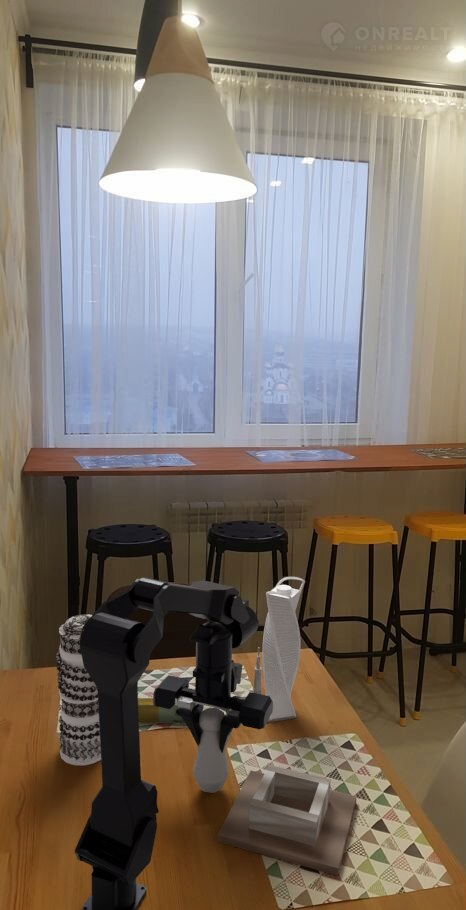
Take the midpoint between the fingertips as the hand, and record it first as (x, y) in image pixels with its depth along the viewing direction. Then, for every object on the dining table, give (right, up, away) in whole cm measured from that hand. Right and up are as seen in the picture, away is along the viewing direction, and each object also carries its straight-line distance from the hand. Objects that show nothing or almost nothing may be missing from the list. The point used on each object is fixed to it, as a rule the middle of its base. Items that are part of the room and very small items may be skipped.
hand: (211, 748), depth 110 cm
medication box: (-11, -4, +22) cm, 25 cm away
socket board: (+12, -9, -5) cm, 16 cm away
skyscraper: (+12, -4, +25) cm, 28 cm away
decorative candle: (-23, -5, +11) cm, 26 cm away
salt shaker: (0, -7, +1) cm, 7 cm away
